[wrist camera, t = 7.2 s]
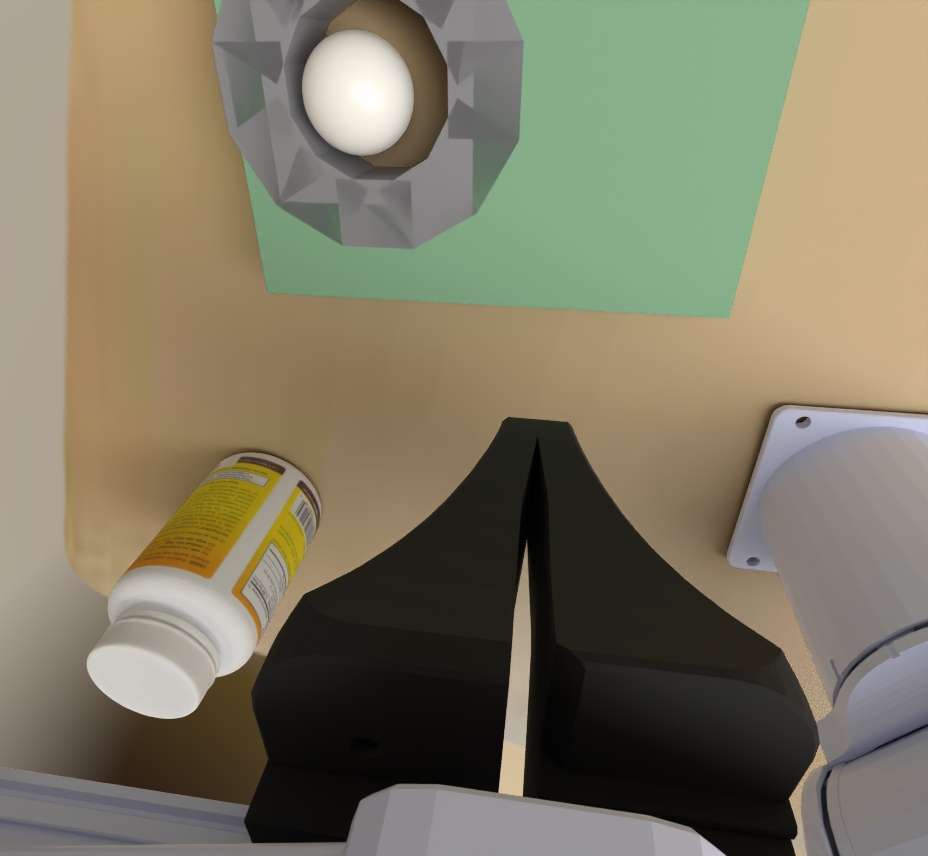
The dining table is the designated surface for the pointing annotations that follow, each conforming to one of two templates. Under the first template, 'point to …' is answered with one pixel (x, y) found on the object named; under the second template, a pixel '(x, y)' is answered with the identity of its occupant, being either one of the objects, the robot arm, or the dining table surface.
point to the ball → (357, 92)
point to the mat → (524, 154)
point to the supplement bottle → (205, 586)
